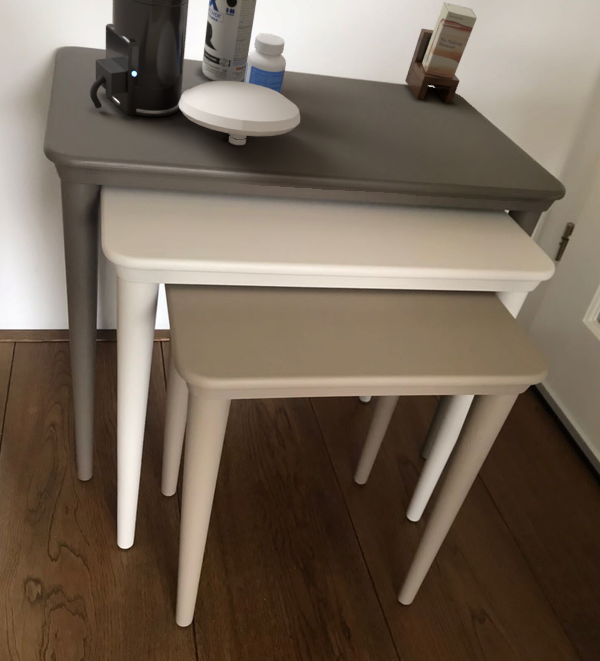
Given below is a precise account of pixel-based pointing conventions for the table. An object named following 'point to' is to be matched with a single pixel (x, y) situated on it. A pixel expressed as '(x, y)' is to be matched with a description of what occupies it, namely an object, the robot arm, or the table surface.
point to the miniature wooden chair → (421, 79)
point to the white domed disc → (239, 109)
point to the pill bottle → (266, 62)
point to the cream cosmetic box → (449, 40)
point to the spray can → (228, 39)
